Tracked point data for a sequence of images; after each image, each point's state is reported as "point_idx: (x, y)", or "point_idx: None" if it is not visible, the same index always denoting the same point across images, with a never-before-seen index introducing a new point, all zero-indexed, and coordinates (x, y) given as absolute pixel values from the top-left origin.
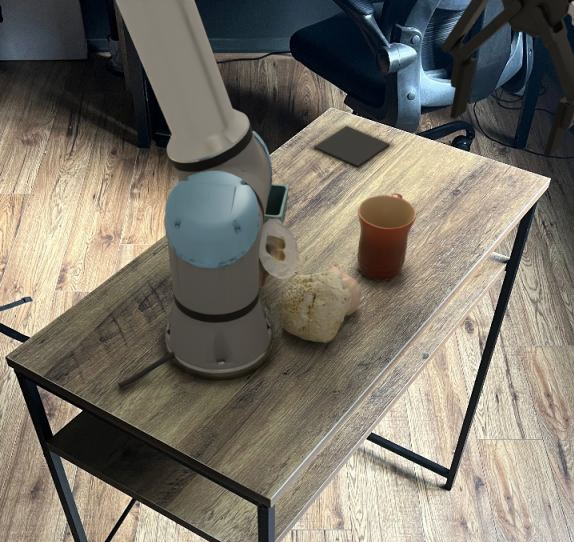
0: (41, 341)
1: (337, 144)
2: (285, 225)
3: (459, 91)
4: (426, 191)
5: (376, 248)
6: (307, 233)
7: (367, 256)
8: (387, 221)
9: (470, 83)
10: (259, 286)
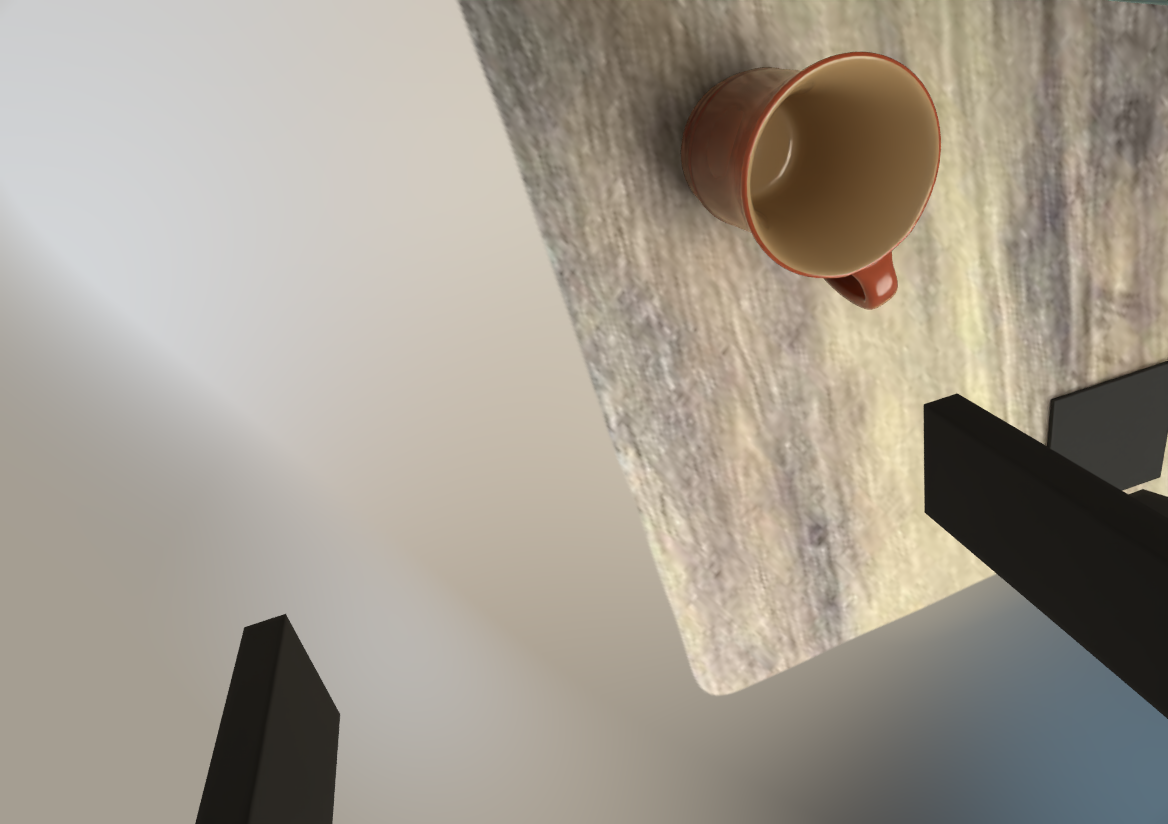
0: None
1: (1139, 413)
2: None
3: (1066, 490)
4: (871, 480)
5: (767, 84)
6: (989, 81)
7: (774, 70)
8: (832, 212)
9: (1057, 612)
10: None
